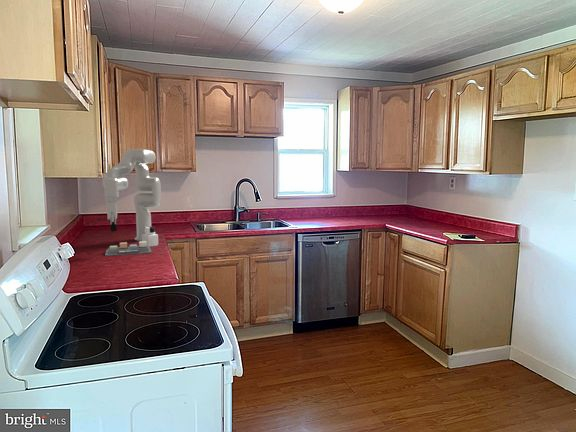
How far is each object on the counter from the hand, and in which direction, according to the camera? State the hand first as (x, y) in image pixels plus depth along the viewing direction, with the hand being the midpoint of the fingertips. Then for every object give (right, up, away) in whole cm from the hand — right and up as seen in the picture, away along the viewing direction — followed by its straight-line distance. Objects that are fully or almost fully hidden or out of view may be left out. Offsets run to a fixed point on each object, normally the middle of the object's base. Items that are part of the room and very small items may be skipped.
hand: (113, 231), depth 242 cm
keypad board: (+7, -12, +4) cm, 15 cm away
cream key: (+15, -9, +7) cm, 18 cm away
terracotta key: (+5, -10, +3) cm, 11 cm away
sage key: (-1, -11, +1) cm, 12 cm away
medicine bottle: (+14, -10, +23) cm, 29 cm away
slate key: (+10, -11, +5) cm, 15 cm away
